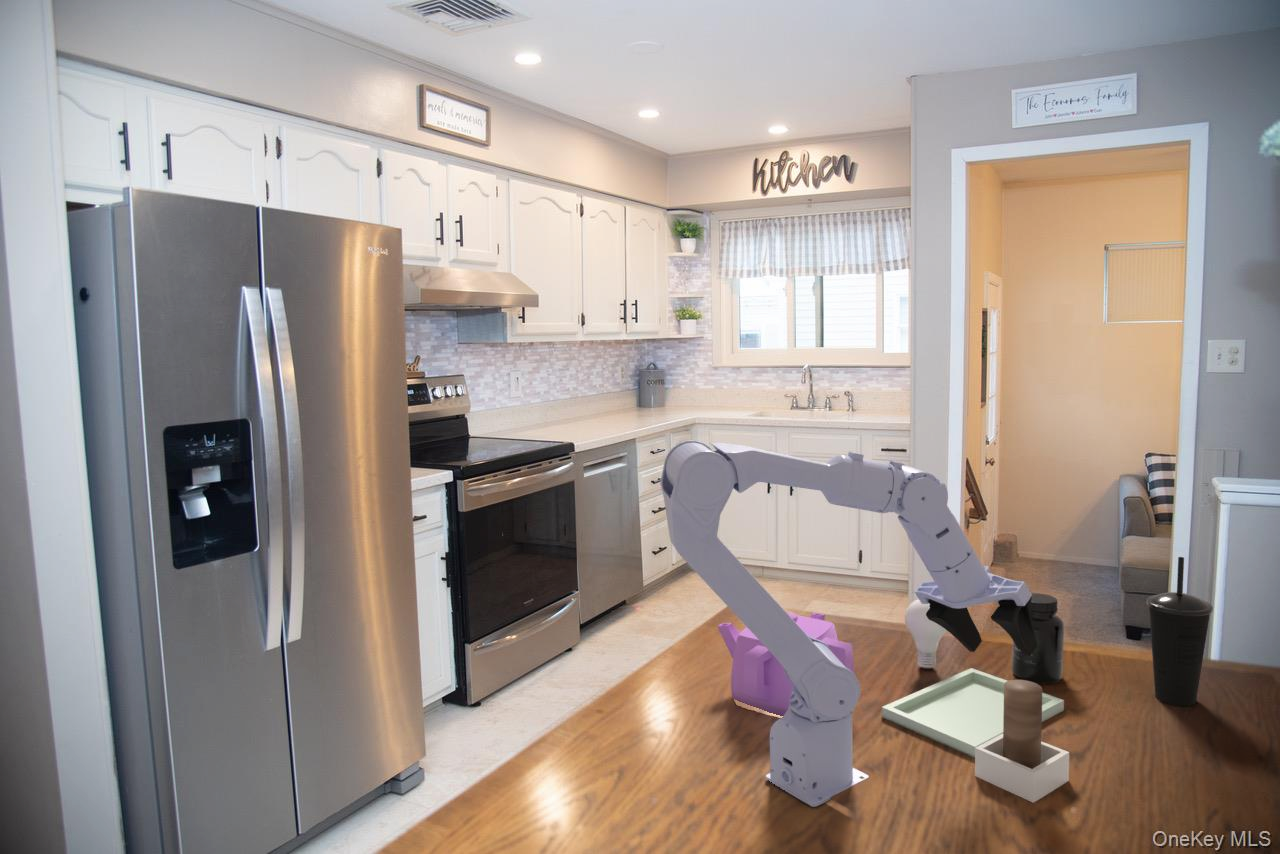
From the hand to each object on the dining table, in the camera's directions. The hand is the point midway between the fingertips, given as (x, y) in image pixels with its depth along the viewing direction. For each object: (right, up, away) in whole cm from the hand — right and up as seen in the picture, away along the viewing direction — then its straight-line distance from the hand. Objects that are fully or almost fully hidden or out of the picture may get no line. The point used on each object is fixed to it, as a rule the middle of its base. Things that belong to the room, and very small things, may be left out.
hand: (1002, 648), depth 103 cm
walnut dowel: (+1, -14, -4) cm, 15 cm away
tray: (+1, -13, +13) cm, 18 cm away
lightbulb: (+1, -11, +29) cm, 31 cm away
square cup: (+1, -15, -3) cm, 15 cm away
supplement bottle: (+16, -11, +25) cm, 32 cm away
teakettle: (-22, -13, +22) cm, 34 cm away
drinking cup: (+31, -11, +16) cm, 36 cm away
